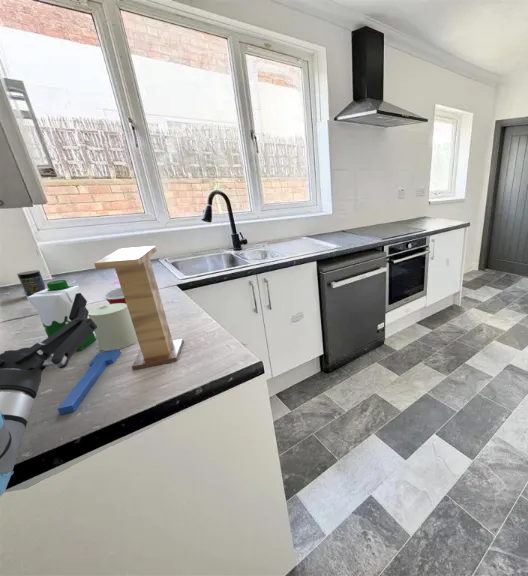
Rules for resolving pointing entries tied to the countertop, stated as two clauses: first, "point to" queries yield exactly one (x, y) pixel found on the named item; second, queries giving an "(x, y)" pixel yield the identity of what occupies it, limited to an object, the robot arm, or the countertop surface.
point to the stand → (143, 305)
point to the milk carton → (56, 307)
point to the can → (113, 326)
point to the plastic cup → (115, 296)
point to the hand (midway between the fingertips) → (39, 302)
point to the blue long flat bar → (87, 380)
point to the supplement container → (31, 282)
